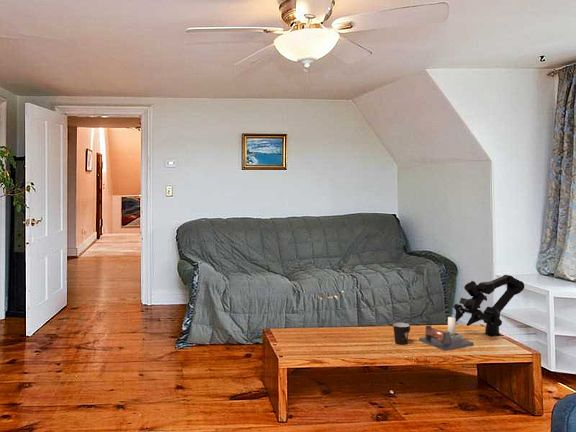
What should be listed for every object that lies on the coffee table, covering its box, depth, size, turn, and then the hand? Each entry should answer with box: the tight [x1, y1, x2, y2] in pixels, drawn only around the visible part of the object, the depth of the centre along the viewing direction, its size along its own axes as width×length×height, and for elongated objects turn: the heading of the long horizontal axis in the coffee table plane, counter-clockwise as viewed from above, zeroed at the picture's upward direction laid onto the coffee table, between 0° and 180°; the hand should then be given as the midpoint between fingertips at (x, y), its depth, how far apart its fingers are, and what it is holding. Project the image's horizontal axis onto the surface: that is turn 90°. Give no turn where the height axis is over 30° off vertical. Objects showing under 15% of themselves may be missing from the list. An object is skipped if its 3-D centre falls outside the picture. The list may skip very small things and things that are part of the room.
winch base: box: [418, 324, 475, 352], centre depth 281 cm, size 20×20×8 cm
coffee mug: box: [392, 322, 411, 346], centre depth 282 cm, size 12×9×10 cm
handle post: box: [447, 316, 457, 336], centre depth 283 cm, size 4×4×12 cm
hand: (460, 323), depth 286 cm, fingers open, 9 cm apart
